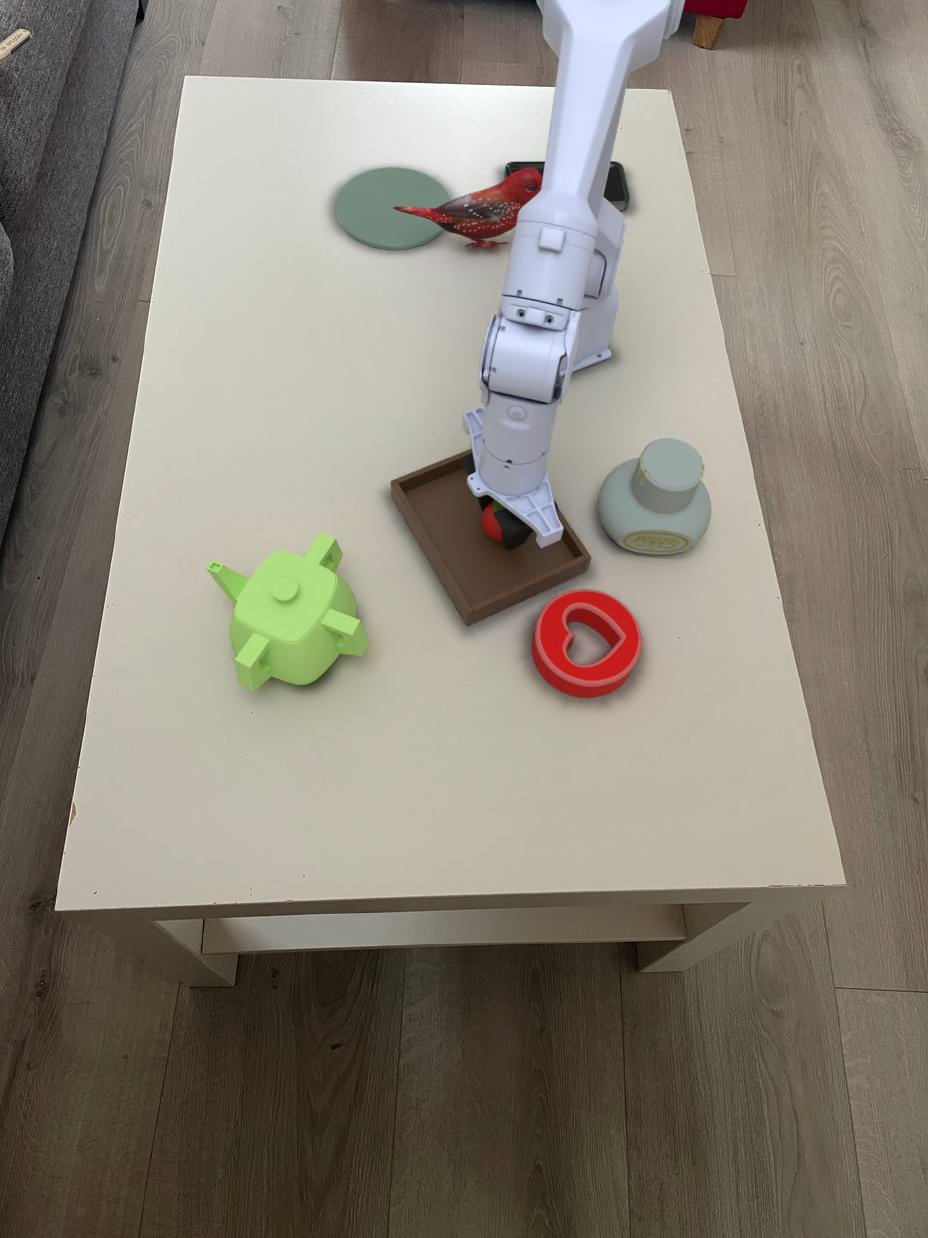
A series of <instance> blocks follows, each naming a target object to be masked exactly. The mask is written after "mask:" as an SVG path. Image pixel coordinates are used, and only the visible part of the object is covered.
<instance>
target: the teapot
mask: <svg viewBox="0 0 928 1238" xmlns="http://www.w3.org/2000/svg"><path fill="white" fill-rule="evenodd" d="M343 555H344V553H343V551H342V549H341V546H340V544H339V542H338V541H337V539H336V538H335V537H333V536H331V535H328V534H327V533H324V532H322V531H320V532H319V533H318V534H317V536H316V537H315V539H314V541H313V542H312V544H311V545H310V546H309V548H308V549H307V551H306V552H305V554H304V556H301V555H299V554H296V553H293V552H290V551H287V550H278V551H275V552H273V553H272V554H271V555H269V556H268V557H267V558H266V559H265V560H264V561H263V562H261V564H260V565H259V566H258V567H257V568H256V570H255V571H254V572H253V573H252V575H250V578H249V577H248V576H245V575H243V574H241V573H239V572H237V571H235V570H233V569H231V568H230V567H228V566H225V564H223V563H221V562H219V561H216V560H214V559H212V560H211V561H210V562H209V563H208V564H207V566H206V567H205V570H206V571H207V572H208V573H209V574H210V576H211V577H212V579H213V580H214V581H215V582H216V584H217V585H218V587H219V588H220V589H221V591H222V592H223V593H224V594H225V596H226V597H227V598H228V599H229V601H230V602H231V604H232V606H234V608H233V612H232V615H231V619H230V623H229V641H230V645H231V648H232V651H233V653H234V654H235V655H236V656H235V658H234V666H235V673H236V678H237V684H239V685H241V686H242V687H244V688H246V689H249V690H250V691H252V692H254V691H256V690H257V689H258V688H260V686H262V685H263V684H265V682H266V681H268V680H269V679H270V678H271V677H272V678H275V679H278V680H280V681H283V682H286V683H289V684H292V685H297V686H304V685H305V686H306V685H308V684H311V683H313V682H315V681H316V680H318V679H319V678H320V677H321V676H322V675H323V674H324V673H325V672H326V671H327V670H329V668H330V667H331V666H332V665H333V663H334V662H335V661H336V660H337V659H338V658H339V656H340V655H350V656H359V657H364V654H365V653H366V650H367V649H368V647H369V645H370V643H371V640H370V639H369V638H370V637H368V634H367V632H366V629H365V627H364V625H363V623H362V620H361V619H358V618H357V611H358V604H357V600H356V597H355V594H354V592H353V590H352V589H351V587H350V585H349V584H348V582H346V581H345V580H344V579H343V578H342V577H340V575H338V574H337V573H336V572H337V570H338V567H339V565H340V562H341V560H342V558H343Z"/></svg>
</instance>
